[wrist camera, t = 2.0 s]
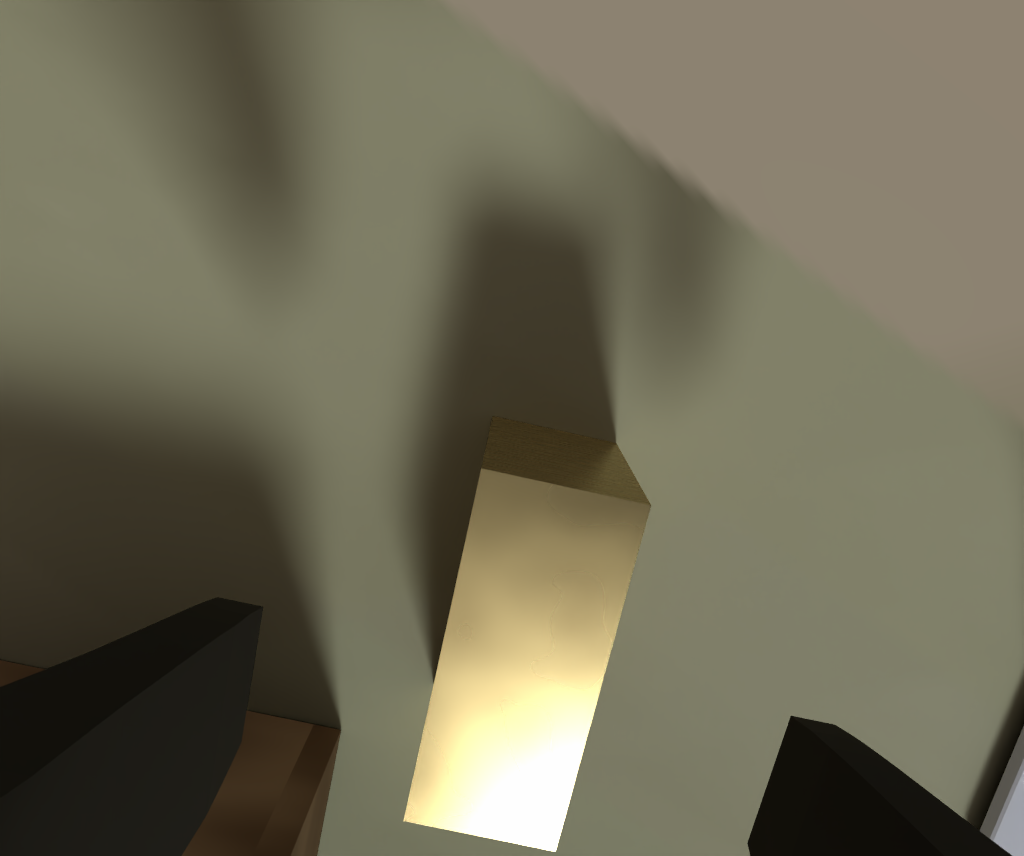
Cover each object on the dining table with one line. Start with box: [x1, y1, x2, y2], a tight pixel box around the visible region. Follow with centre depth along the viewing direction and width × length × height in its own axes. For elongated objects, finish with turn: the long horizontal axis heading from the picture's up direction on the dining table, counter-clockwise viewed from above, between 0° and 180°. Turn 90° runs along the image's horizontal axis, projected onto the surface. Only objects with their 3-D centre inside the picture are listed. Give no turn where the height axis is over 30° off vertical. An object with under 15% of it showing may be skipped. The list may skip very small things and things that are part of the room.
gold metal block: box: [404, 416, 651, 852], centre depth 13 cm, size 2×6×4 cm, turn 168°
